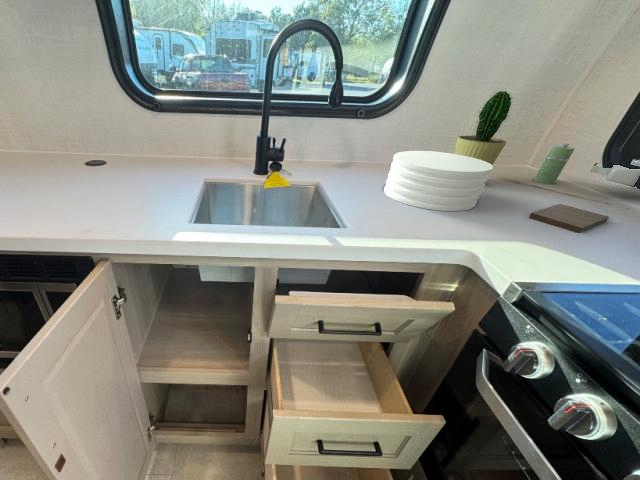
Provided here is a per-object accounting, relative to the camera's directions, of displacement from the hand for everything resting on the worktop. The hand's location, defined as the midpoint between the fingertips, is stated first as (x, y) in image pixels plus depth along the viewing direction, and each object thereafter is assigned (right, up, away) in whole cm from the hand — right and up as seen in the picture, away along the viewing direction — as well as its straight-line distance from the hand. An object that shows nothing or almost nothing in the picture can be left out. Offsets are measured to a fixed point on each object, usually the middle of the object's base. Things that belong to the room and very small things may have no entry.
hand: (592, 166), depth 112 cm
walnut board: (-30, -24, -20) cm, 43 cm away
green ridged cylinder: (-8, -2, +11) cm, 13 cm away
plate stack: (-62, -12, -5) cm, 64 cm away
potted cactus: (-38, -1, +11) cm, 40 cm away
